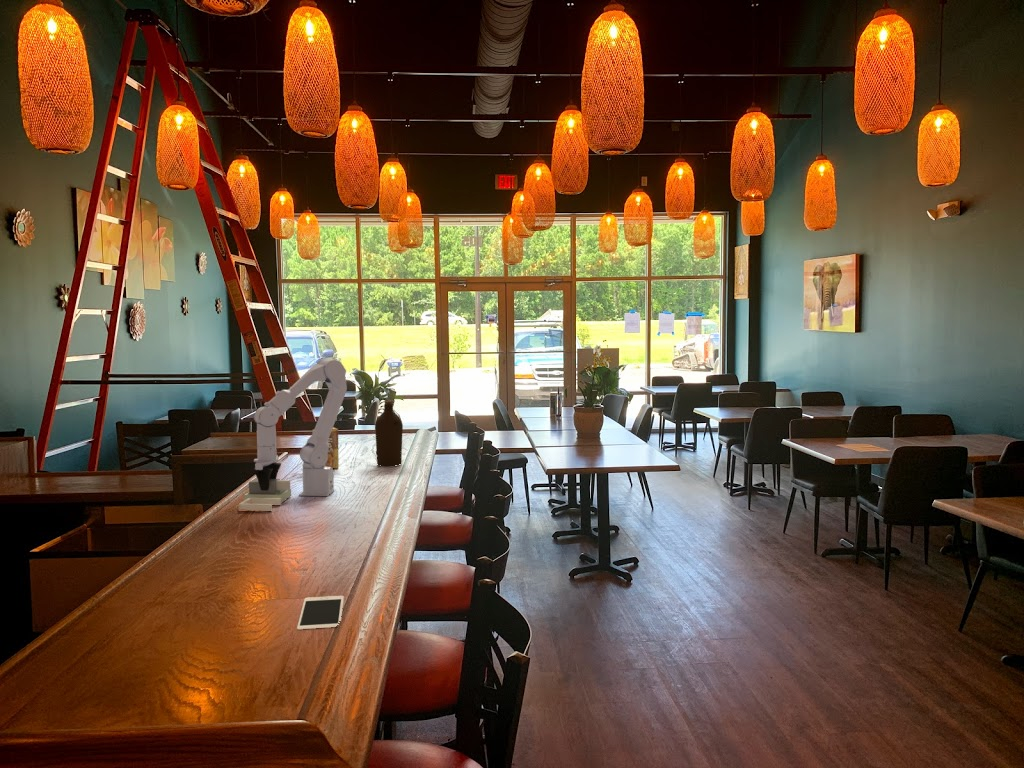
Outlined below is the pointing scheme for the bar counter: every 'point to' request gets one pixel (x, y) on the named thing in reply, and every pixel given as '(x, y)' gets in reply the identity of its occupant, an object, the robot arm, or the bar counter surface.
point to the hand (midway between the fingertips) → (267, 488)
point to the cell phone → (321, 612)
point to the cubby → (259, 503)
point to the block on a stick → (274, 487)
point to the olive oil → (388, 437)
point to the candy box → (332, 449)
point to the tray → (281, 494)
